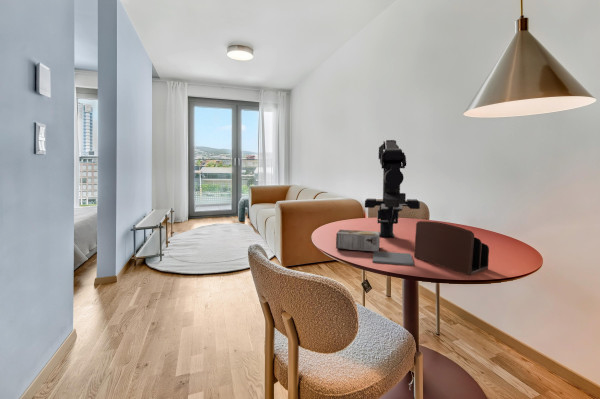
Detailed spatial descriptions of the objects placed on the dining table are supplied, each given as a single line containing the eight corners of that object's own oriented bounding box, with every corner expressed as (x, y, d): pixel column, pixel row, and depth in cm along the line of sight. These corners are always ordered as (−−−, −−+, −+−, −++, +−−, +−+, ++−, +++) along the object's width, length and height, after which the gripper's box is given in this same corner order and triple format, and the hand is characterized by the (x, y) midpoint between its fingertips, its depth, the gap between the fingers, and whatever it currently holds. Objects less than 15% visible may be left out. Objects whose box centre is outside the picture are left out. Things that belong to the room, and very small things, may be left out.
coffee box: (379, 247, 113) (340, 244, 118) (380, 231, 113) (340, 229, 118) (378, 252, 104) (335, 248, 109) (378, 235, 104) (335, 232, 109)
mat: (373, 252, 106) (373, 251, 106) (410, 255, 102) (410, 253, 102) (372, 262, 95) (372, 260, 95) (413, 265, 92) (413, 263, 92)
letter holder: (470, 276, 83) (473, 229, 81) (413, 257, 100) (414, 218, 98) (488, 269, 88) (491, 225, 86) (431, 253, 105) (433, 215, 103)
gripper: (364, 186, 97) (363, 230, 99) (422, 186, 92) (420, 233, 94) (365, 183, 107) (365, 223, 109) (418, 184, 102) (417, 226, 104)
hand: (390, 226), depth 104 cm, fingers closed
